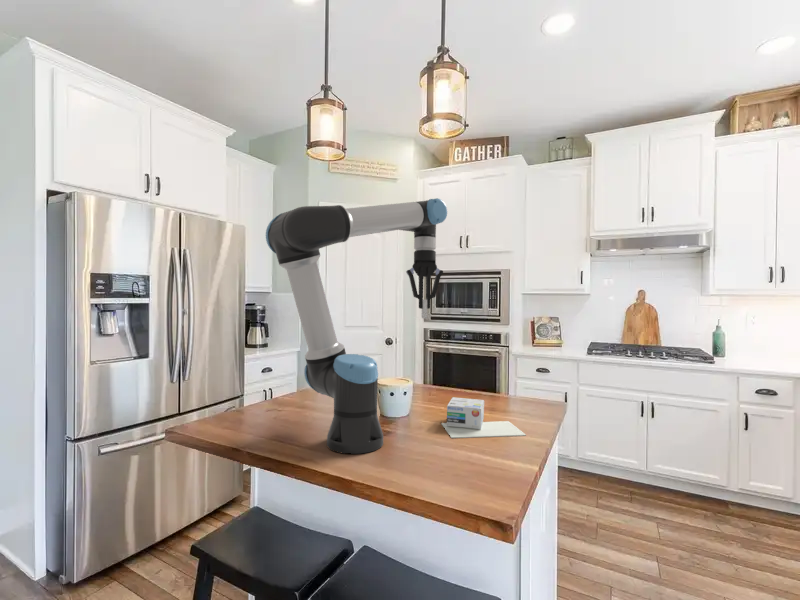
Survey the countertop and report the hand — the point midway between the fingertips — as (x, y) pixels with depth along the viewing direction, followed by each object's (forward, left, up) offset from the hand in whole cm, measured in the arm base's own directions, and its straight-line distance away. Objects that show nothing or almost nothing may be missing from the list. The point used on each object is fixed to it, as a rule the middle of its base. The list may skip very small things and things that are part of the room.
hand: (424, 318), depth 144 cm
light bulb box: (+13, -11, -29) cm, 33 cm away
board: (+14, -21, -32) cm, 41 cm away
